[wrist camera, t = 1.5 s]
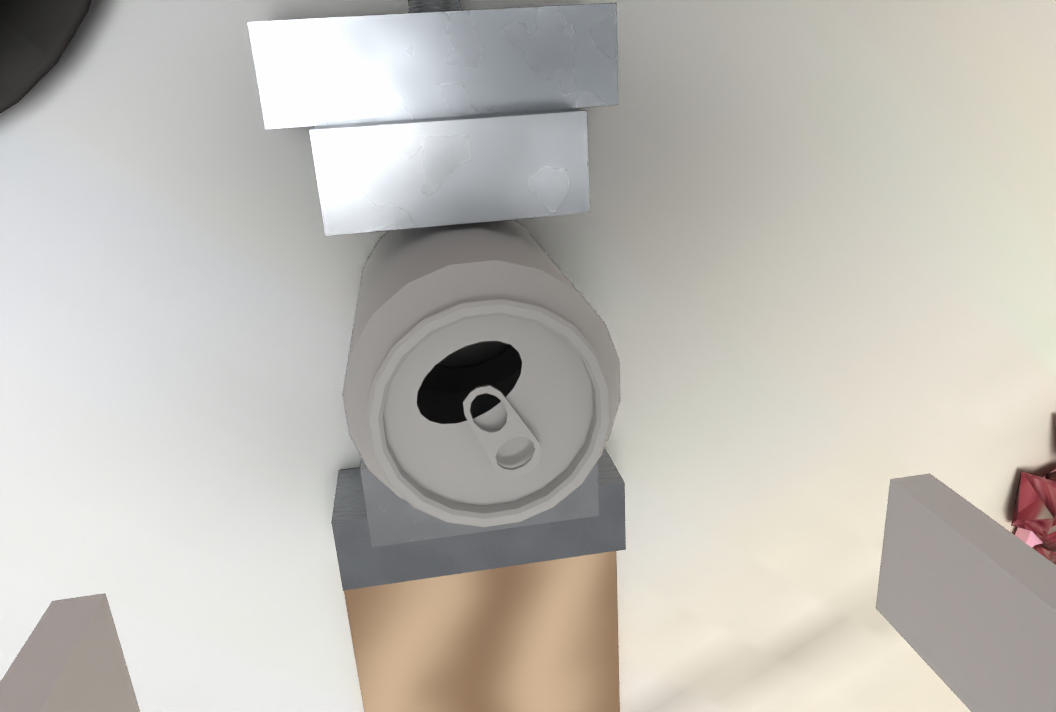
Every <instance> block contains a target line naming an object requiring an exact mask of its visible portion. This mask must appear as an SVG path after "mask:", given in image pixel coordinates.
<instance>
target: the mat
mask: <svg viewBox="0 0 1056 712" xmlns="http://www.w3.org/2000/svg"><path fill="white" fill-rule="evenodd" d="M344 594H345V600H346V606H347V612H348V617H349V623H350V629H351V635H352V641H353V647H354V653H355V659H356V665H357V671H358V677H359V683H360V689H361V695H362V701H363V707H364V712H620V702H619V656H618V609H617V563H616V551H611V552H604V553H598V554H591V555H584V556H577V557H570V558H563V559H556V560H550V561H543V562H536V563H529V564H522V565H515V566H509V567H502V568H495V569H488V570H481V571H474V572H467V573H461V574H454V575H447V576H440V577H433V578H426V579H420V580H413V581H406V582H399V583H392V584H385V585H378V586H372V587H365V588H358V589H351V590H344Z"/></svg>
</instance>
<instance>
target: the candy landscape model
mask: <svg viewBox="0 0 1056 712" xmlns="http://www.w3.org/2000/svg"><path fill="white" fill-rule="evenodd" d="M1011 526H1015V527H1018V529H1017V531H1016V533H1015V536H1016V537H1018V538H1019V539H1021V540H1022V541H1023V542H1025V543H1026V544H1027V545H1029V546H1030V547H1032V548H1033V549H1034V550H1036V551H1037V552H1038V553H1040V554H1041V555H1043V556H1044V557H1045V558H1047V559H1048V560H1049V561H1051V562H1052V563H1054V564H1055V565H1056V469H1055V470H1053V471H1051V472H1050V473H1048V474H1046V475H1045V476H1044V477H1039V476H1036V475H1033V474H1029V473H1026V472H1023V471H1021V476H1020V482H1019V487H1018V492H1017V497H1016V503H1015V508H1014V513H1013V519H1012V524H1011Z"/></svg>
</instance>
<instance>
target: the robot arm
mask: <svg viewBox="0 0 1056 712" xmlns="http://www.w3.org/2000/svg"><path fill="white" fill-rule="evenodd" d="M876 609H877V610H878V611H879V612H880V613H881V614H882V615H883V617H884V618H885V619H886V620H887V621H888V622H889V623H890V624H891V625H892V626H893V627H894V628H895V630H896V631H897V632H898V633H899V634H900V635H901V636H902V637H903V638H904V639H905V640H906V641H907V643H908V644H909V645H910V646H911V647H912V648H913V649H914V650H915V651H916V652H917V653H918V654H919V655H920V657H921V658H922V659H923V660H924V661H925V662H926V663H927V664H928V665H929V666H930V667H931V668H932V670H933V671H934V672H935V673H936V674H937V675H938V676H939V677H940V678H941V679H942V680H943V681H944V683H945V684H946V685H947V686H948V687H949V688H950V689H951V690H952V691H953V692H954V693H955V694H956V696H957V697H958V698H959V699H960V700H961V701H962V702H963V703H964V704H965V705H966V706H967V707H968V709H969V710H970V711H971V712H1056V565H1055V564H1054V563H1052V562H1051V561H1049V560H1048V559H1047V558H1045V557H1044V556H1043V555H1041V554H1040V553H1038V552H1037V551H1036V550H1034V549H1033V548H1032V547H1030V546H1029V545H1027V544H1026V543H1025V542H1023V541H1022V540H1021V539H1019V538H1018V537H1016V536H1015V535H1014V534H1012V533H1011V532H1010V531H1008V530H1007V529H1005V528H1004V527H1003V526H1001V525H1000V524H999V523H997V522H996V521H994V520H993V519H992V518H990V517H989V516H988V515H986V514H985V513H983V512H982V511H981V510H979V509H978V508H977V507H975V506H974V505H972V504H971V503H970V502H968V501H967V500H966V499H964V498H963V497H961V496H960V495H959V494H957V493H956V492H955V491H953V490H952V489H950V488H949V487H948V486H946V485H945V484H944V483H942V482H941V481H939V480H938V479H937V478H935V477H934V476H933V475H931V474H923V475H916V476H909V477H903V478H896V479H890V486H889V495H888V504H887V513H886V522H885V531H884V539H883V548H882V557H881V566H880V575H879V584H878V592H877V601H876ZM0 712H140V710H139V706H138V703H137V699H136V696H135V693H134V689H133V686H132V682H131V679H130V676H129V672H128V669H127V665H126V662H125V659H124V655H123V652H122V648H121V645H120V641H119V638H118V635H117V631H116V628H115V624H114V621H113V618H112V614H111V611H110V607H109V604H108V601H107V597H106V594H98V595H91V596H84V597H77V598H70V599H63V600H57V601H52V602H51V604H50V605H49V607H48V609H47V610H46V612H45V613H44V615H43V616H42V618H41V619H40V621H39V623H38V624H37V626H36V627H35V629H34V630H33V632H32V634H31V635H30V637H29V638H28V640H27V641H26V643H25V644H24V646H23V648H22V649H21V651H20V652H19V654H18V655H17V657H16V658H15V660H14V662H13V663H12V665H11V666H10V668H9V669H8V671H7V673H6V674H5V676H4V677H3V679H2V680H1V682H0Z"/></svg>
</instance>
